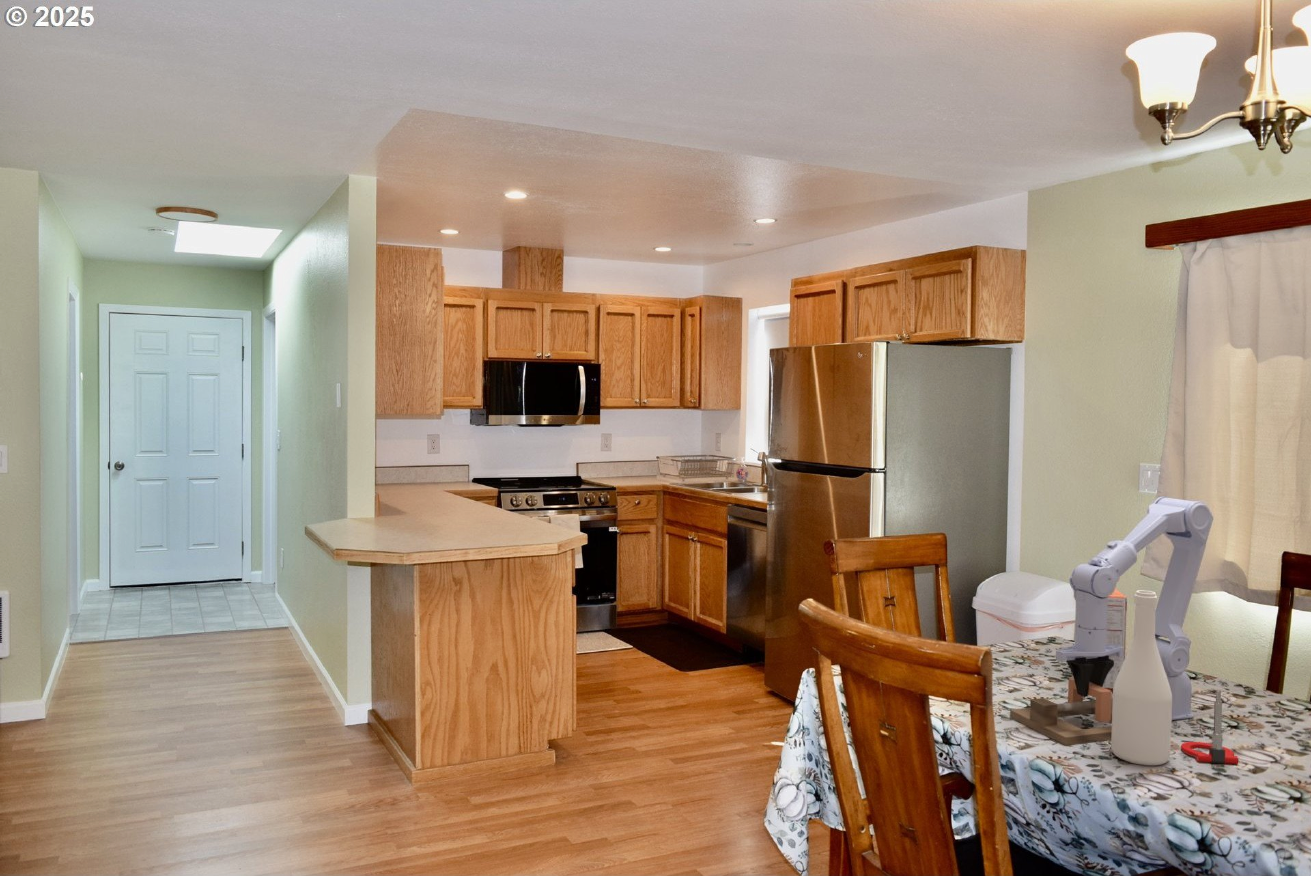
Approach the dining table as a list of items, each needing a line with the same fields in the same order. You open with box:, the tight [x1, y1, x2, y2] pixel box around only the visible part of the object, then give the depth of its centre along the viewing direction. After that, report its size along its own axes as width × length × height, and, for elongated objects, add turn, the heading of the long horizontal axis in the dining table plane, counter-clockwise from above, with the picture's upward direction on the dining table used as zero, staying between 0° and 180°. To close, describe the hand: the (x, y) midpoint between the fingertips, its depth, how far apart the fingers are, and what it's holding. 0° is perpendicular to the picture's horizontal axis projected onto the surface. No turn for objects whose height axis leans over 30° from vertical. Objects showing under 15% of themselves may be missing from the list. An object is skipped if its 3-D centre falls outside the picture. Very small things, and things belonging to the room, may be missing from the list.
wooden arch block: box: [1067, 677, 1113, 723], centre depth 193 cm, size 2×9×6 cm, turn 17°
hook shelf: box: [1009, 697, 1113, 746], centre depth 193 cm, size 24×16×6 cm, turn 107°
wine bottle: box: [1110, 589, 1172, 766], centre depth 176 cm, size 10×10×30 cm
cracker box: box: [1086, 588, 1128, 690], centre depth 222 cm, size 14×6×21 cm, turn 168°
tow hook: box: [1180, 689, 1239, 765], centre depth 178 cm, size 8×13×9 cm
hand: (1088, 694), depth 193 cm, fingers closed on wooden arch block, 2 cm apart
